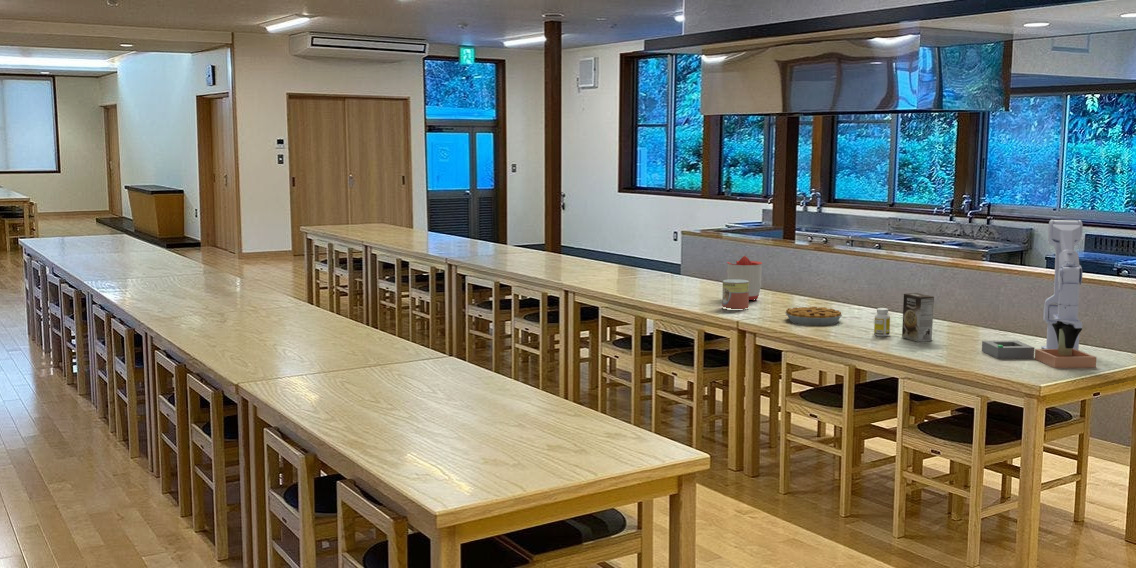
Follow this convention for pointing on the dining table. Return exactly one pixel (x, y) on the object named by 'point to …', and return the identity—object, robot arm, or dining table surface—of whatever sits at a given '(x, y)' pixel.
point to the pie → (813, 315)
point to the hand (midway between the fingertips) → (1065, 346)
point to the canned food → (735, 294)
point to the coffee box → (917, 317)
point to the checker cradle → (1008, 349)
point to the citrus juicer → (747, 274)
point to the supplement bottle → (882, 322)
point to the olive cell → (1063, 345)
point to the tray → (1065, 358)
